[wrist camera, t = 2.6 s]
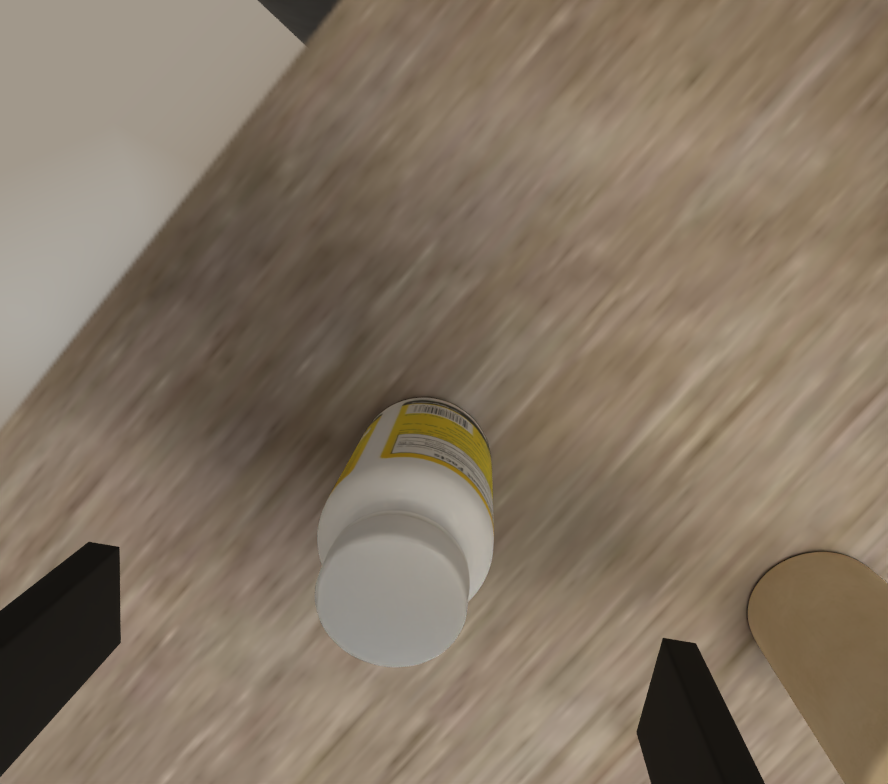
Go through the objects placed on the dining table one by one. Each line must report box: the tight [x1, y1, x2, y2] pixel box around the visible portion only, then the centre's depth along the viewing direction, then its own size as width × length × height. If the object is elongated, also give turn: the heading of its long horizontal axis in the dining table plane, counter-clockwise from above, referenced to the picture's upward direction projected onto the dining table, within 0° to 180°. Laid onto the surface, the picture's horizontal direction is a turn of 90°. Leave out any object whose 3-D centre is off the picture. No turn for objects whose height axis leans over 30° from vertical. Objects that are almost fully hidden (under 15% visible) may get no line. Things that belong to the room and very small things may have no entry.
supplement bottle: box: [315, 398, 494, 667], centre depth 20 cm, size 5×5×10 cm
